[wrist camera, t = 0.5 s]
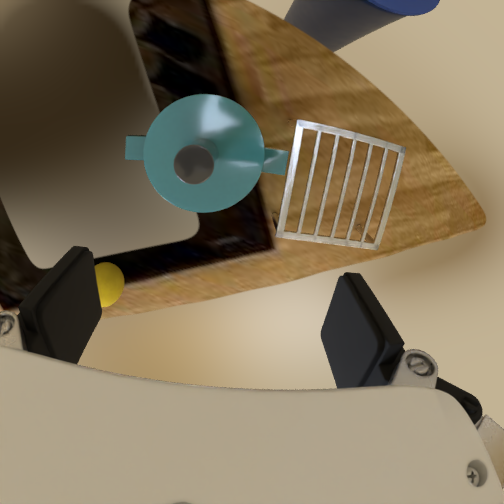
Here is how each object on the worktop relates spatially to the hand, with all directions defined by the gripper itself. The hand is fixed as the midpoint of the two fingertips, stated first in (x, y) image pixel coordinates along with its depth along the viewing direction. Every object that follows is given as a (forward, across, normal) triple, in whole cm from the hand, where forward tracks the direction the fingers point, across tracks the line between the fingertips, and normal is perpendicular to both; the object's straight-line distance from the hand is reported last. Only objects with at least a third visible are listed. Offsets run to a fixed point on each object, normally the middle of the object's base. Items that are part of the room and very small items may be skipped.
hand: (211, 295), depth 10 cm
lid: (+18, +2, -2) cm, 19 cm away
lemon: (+27, +16, +16) cm, 35 cm away
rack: (+27, -12, 0) cm, 29 cm away
